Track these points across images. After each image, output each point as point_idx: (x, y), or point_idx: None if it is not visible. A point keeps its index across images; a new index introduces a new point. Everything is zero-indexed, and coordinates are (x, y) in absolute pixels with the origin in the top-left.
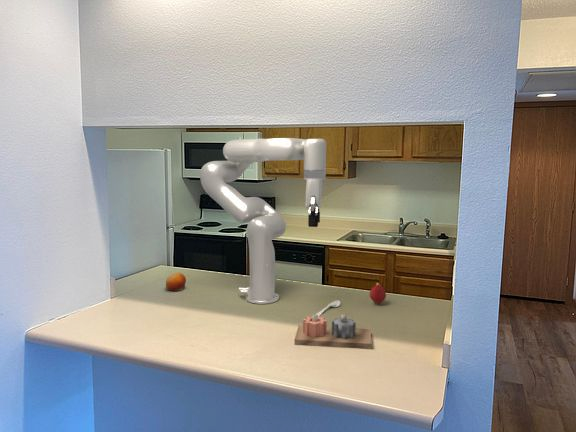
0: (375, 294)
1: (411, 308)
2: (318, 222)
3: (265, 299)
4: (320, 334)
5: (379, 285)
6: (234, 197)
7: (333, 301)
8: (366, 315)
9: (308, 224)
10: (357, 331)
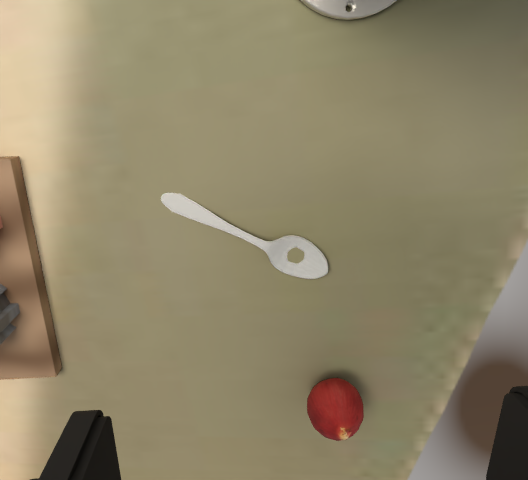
0: (311, 406)
1: (299, 464)
2: (491, 472)
3: None
4: None
5: (338, 437)
6: None
7: (322, 254)
8: (215, 355)
9: (64, 433)
10: (24, 345)
